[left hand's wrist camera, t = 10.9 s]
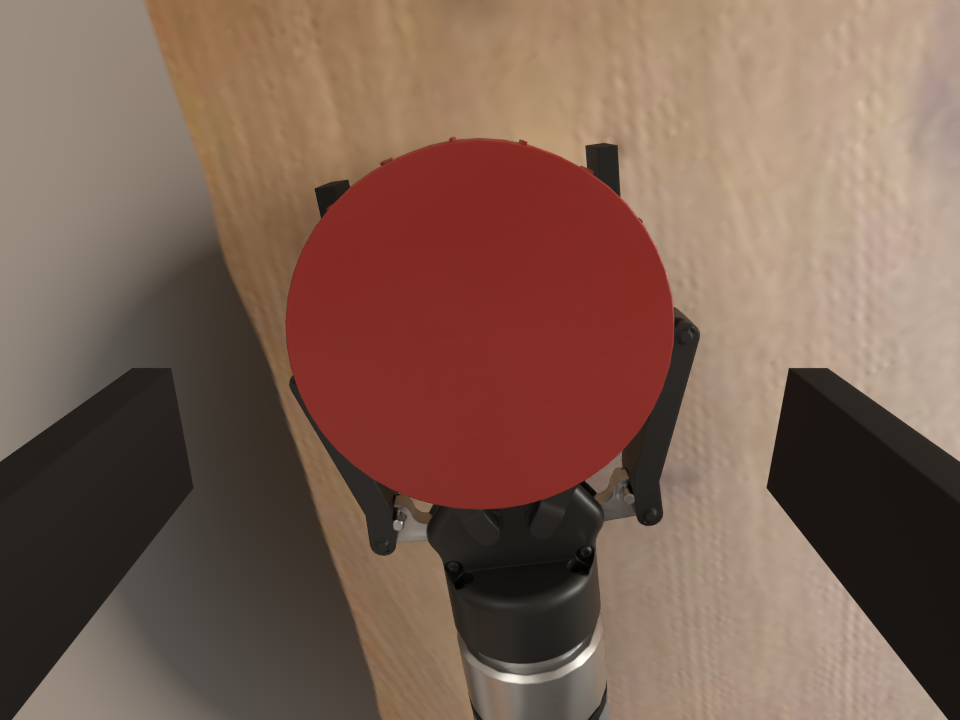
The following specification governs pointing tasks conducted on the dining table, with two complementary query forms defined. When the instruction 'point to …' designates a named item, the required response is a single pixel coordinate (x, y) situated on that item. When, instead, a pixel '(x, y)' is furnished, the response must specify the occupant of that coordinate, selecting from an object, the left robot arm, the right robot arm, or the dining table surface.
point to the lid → (480, 324)
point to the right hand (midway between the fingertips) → (464, 164)
